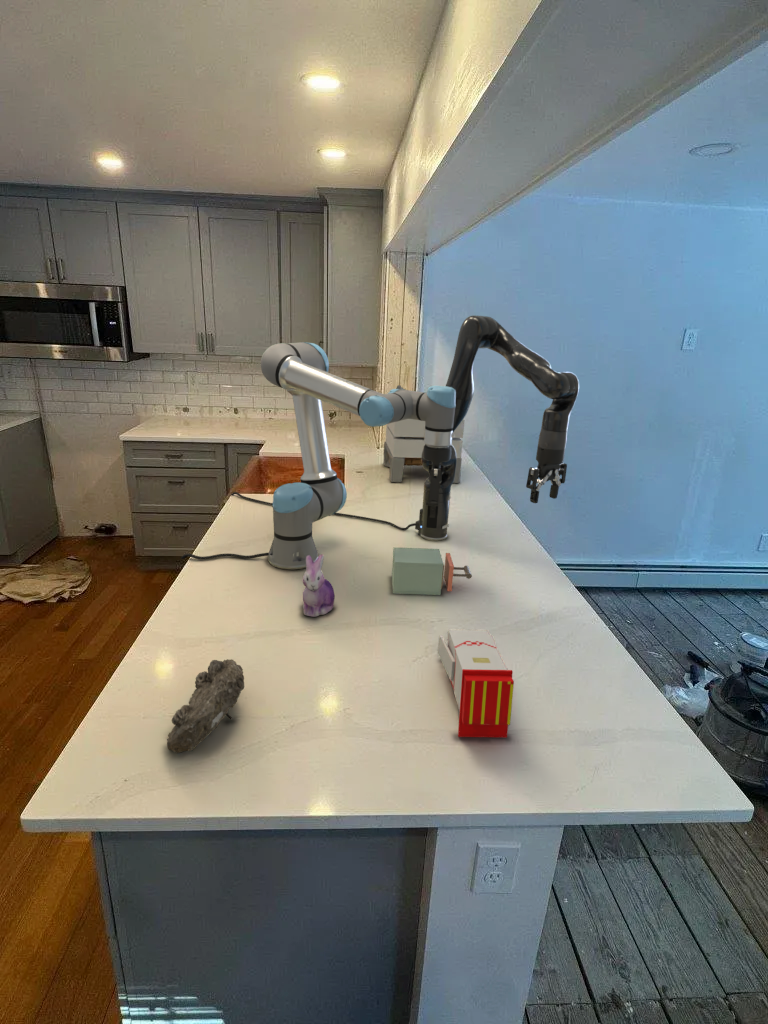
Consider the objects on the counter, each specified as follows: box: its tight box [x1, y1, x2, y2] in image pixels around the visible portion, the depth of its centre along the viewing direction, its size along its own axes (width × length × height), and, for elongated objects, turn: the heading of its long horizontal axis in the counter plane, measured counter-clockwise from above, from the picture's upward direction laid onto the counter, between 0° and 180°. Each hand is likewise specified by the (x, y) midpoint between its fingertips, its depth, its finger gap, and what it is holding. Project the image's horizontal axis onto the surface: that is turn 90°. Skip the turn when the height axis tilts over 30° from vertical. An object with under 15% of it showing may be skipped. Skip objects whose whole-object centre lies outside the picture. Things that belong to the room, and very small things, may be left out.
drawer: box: [441, 552, 473, 592], centre depth 161 cm, size 18×9×8 cm, turn 91°
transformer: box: [383, 384, 465, 484], centre depth 268 cm, size 34×33×41 cm
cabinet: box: [391, 546, 444, 596], centre depth 161 cm, size 13×10×10 cm
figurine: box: [302, 554, 336, 617], centre depth 145 cm, size 9×10×15 cm
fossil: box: [166, 658, 245, 754], centre depth 106 cm, size 22×10×15 cm
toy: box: [437, 628, 515, 738], centre depth 117 cm, size 12×13×30 cm
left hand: (431, 518), depth 160 cm, fingers open, 13 cm apart
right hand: (543, 500), depth 164 cm, fingers open, 8 cm apart
